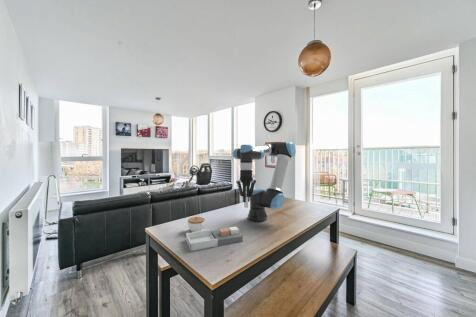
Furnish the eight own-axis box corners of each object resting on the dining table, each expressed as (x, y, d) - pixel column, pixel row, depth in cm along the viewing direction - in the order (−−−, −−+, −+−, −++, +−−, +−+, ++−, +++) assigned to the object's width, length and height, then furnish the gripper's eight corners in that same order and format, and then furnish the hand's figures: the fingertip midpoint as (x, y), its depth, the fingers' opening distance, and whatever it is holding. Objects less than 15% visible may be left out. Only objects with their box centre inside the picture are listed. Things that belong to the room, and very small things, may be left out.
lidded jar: (207, 229, 134) (207, 215, 134) (196, 235, 125) (196, 220, 125) (195, 226, 140) (195, 213, 139) (184, 232, 130) (184, 217, 130)
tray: (210, 235, 124) (210, 229, 124) (217, 246, 110) (217, 239, 110) (186, 239, 118) (186, 233, 118) (190, 251, 105) (190, 243, 104)
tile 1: (226, 231, 123) (226, 227, 123) (229, 234, 118) (229, 230, 118) (219, 233, 121) (219, 229, 121) (221, 236, 116) (221, 232, 116)
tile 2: (235, 230, 125) (235, 226, 125) (239, 233, 121) (239, 229, 121) (228, 231, 123) (228, 227, 123) (231, 234, 119) (231, 230, 119)
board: (233, 232, 130) (233, 227, 130) (242, 241, 117) (242, 236, 117) (211, 236, 124) (211, 231, 124) (218, 245, 111) (218, 240, 111)
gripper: (252, 168, 130) (252, 204, 131) (234, 169, 125) (234, 206, 126) (258, 169, 123) (258, 207, 124) (239, 170, 118) (238, 209, 119)
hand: (246, 207), depth 125 cm, fingers closed
